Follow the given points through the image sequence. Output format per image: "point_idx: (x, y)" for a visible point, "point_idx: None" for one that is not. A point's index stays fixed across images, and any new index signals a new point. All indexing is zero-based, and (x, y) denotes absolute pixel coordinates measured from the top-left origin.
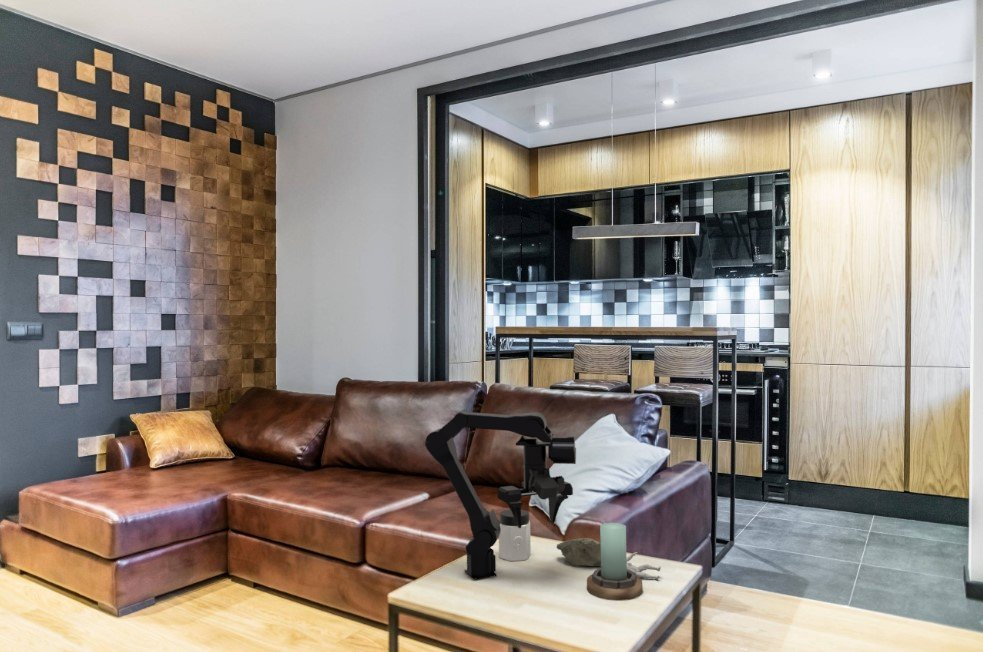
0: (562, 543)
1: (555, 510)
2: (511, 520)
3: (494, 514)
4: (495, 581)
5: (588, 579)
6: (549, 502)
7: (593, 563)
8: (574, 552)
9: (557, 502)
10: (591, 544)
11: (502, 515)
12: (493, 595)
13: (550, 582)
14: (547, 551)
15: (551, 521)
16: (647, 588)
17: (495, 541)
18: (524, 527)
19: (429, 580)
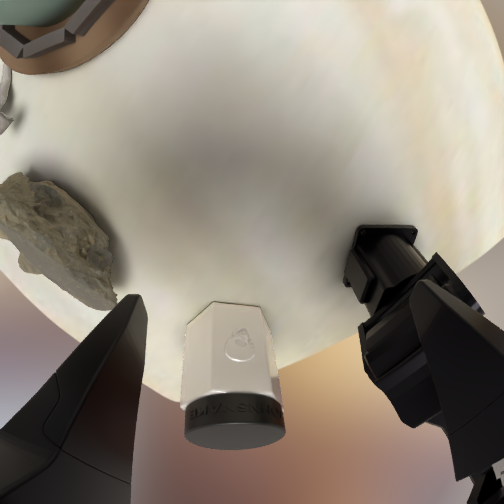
0: (98, 287)
1: (79, 383)
2: (266, 412)
3: (412, 408)
4: (379, 196)
5: (123, 8)
6: (125, 475)
7: (40, 182)
8: (74, 224)
9: (29, 462)
10: (6, 196)
11: (285, 431)
12: (434, 112)
13: (231, 104)
14: None
15: (142, 316)
16: None
17: (435, 281)
18: (218, 385)
19: (459, 264)
